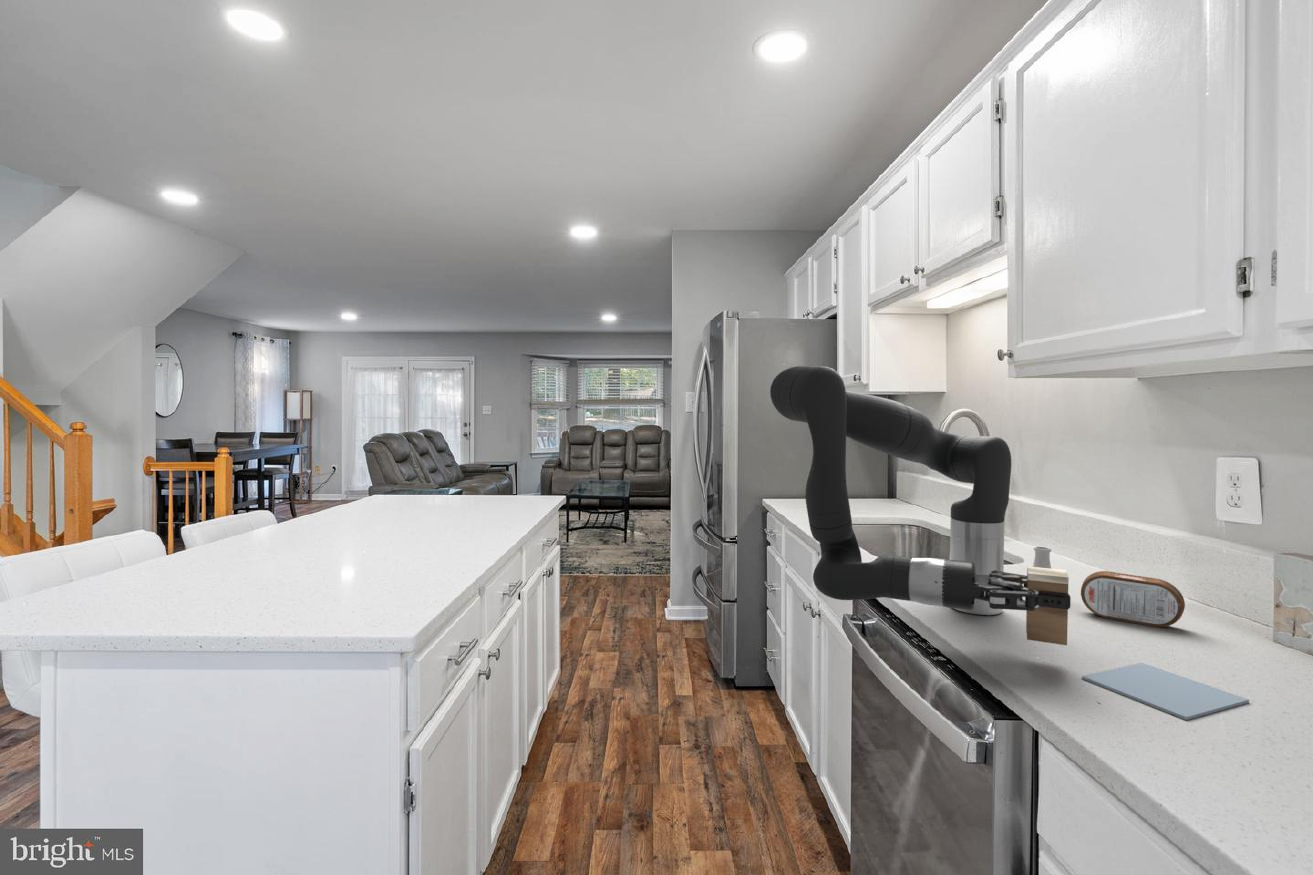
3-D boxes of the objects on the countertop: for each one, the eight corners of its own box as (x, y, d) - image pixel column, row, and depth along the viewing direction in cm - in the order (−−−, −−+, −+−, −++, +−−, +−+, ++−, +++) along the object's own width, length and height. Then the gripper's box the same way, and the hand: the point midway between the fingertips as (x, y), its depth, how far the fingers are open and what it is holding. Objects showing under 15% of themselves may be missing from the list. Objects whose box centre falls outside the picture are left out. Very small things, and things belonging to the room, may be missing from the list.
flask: (1066, 595, 130) (1067, 547, 130) (1056, 603, 125) (1058, 553, 124) (1026, 588, 135) (1027, 542, 135) (1016, 595, 130) (1017, 547, 130)
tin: (1184, 628, 110) (1185, 581, 110) (1183, 633, 108) (1184, 584, 108) (1081, 610, 120) (1082, 567, 120) (1078, 614, 118) (1079, 570, 118)
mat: (1081, 678, 90) (1081, 675, 90) (1141, 665, 94) (1141, 662, 94) (1186, 720, 77) (1186, 716, 77) (1249, 702, 82) (1249, 699, 82)
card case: (1026, 629, 98) (1027, 566, 97) (1064, 635, 95) (1065, 570, 95) (1027, 639, 94) (1028, 573, 93) (1067, 645, 91) (1068, 577, 91)
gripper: (938, 569, 95) (1073, 583, 87) (945, 550, 107) (1065, 560, 99) (937, 619, 95) (1072, 637, 87) (945, 593, 108) (1064, 608, 99)
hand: (1067, 596), depth 93 cm, fingers closed on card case, 4 cm apart
